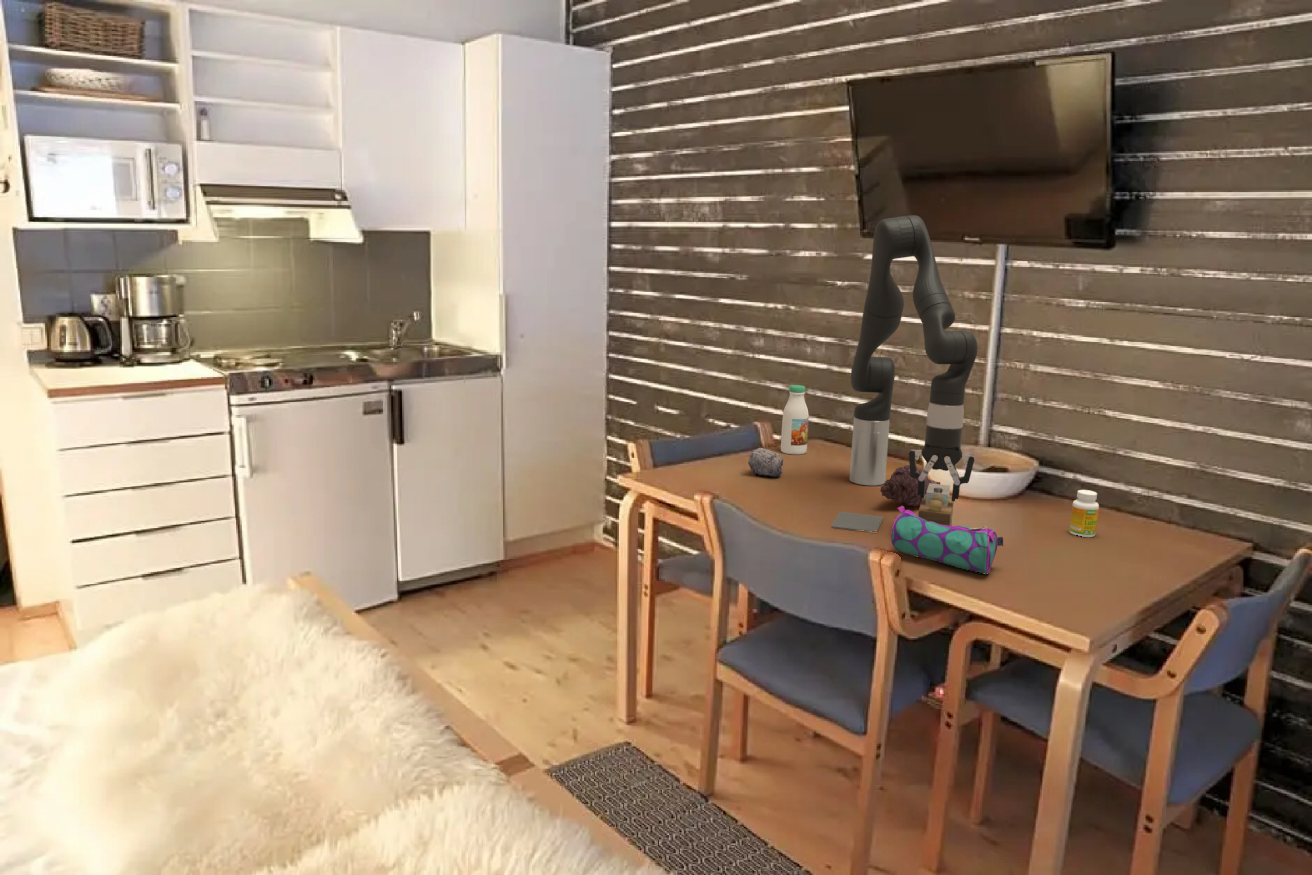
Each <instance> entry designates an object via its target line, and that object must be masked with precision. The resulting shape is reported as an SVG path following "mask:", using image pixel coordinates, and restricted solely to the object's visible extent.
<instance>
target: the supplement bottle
mask: <svg viewBox="0 0 1312 875" xmlns="http://www.w3.org/2000/svg"><path fill="white" fill-rule="evenodd" d="M1097 496H1098V493H1097V492H1096V491H1093V490H1088V489H1079V490H1077V494H1076V499H1075V500H1073V502H1072V506H1071V507H1072V508H1071V514H1070V522H1069V530H1068V531H1069V533H1070V534H1071V535H1073V536H1076V535H1078V536H1077V537H1080V536H1082V537H1081V538H1092V537H1095V536H1096V532H1097V524H1098V517H1099V512H1100V510H1099V509H1100V505H1099V503H1098V502H1096V501H1097Z"/></svg>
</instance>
